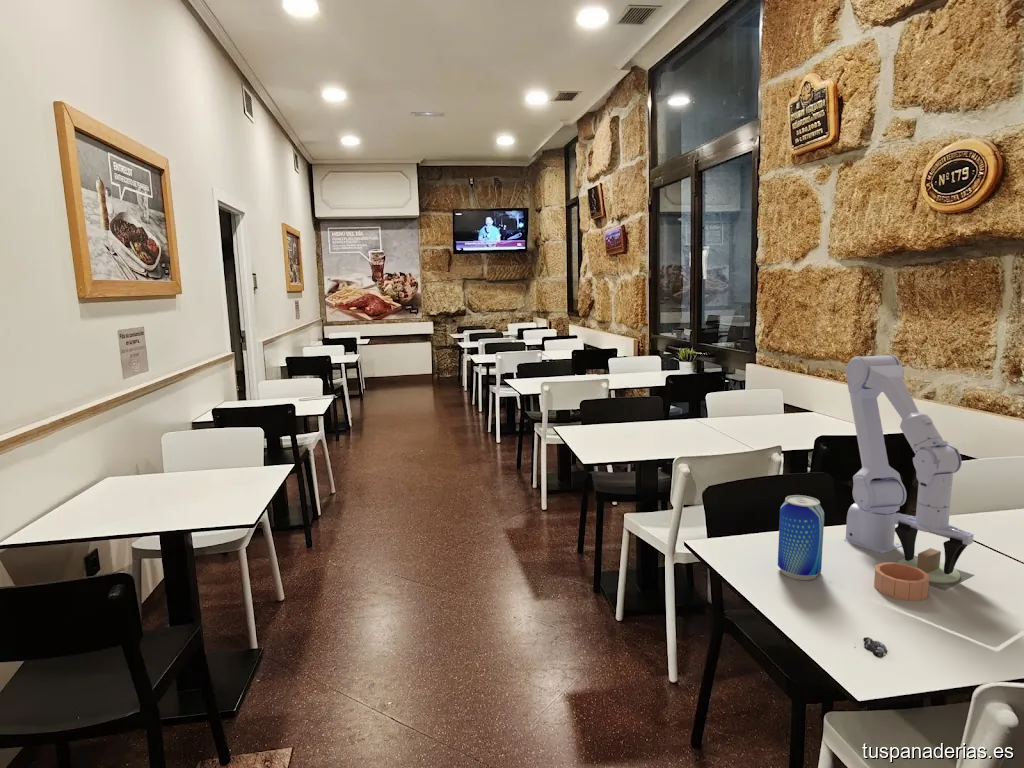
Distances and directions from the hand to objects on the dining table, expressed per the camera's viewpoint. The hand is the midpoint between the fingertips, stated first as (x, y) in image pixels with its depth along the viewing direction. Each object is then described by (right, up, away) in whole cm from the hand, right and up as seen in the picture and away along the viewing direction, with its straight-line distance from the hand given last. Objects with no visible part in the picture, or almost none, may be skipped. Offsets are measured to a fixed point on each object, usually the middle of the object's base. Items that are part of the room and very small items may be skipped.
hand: (928, 566), depth 134 cm
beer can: (-26, -2, +2) cm, 26 cm away
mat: (0, -2, 0) cm, 2 cm away
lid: (0, -1, 0) cm, 1 cm away
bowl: (-10, -3, -7) cm, 13 cm away
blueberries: (-26, -7, -26) cm, 38 cm away
